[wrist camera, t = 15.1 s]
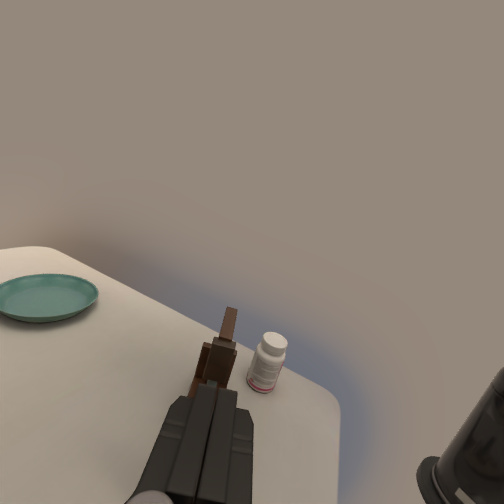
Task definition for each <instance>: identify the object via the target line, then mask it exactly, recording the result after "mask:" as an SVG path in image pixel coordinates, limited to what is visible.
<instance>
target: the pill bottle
mask: <svg viewBox="0 0 504 504" xmlns="http://www.w3.org/2000/svg"><path fill="white" fill-rule="evenodd" d="M286 348H287V340H286V339H285V338H284V337H283V336H281V335H280V334H278V333H275V332H266V333H265V334H264V335H263V338H262V341H261V343H259V344H258V346H257V348H256V351H255V354H254V356H253V359H252V362H251V365H250V368H249V371H248V374H247V381H248V383H249V385H250V386H251V387H252V388H253V389H254V390H256V391H258V392H262V393H267V392H270V391H272V390H273V388H274V386H275V383H276V381H277V378H278V376H279V373H280V370H281V368H282V365H283V363H284V360H285V351H286Z"/></svg>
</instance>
